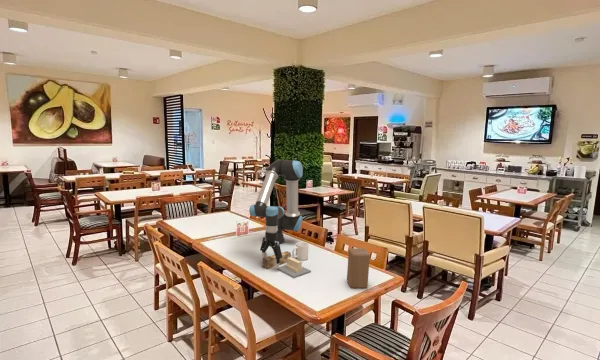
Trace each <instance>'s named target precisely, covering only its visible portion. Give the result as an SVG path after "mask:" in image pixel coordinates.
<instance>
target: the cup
mask: <svg viewBox="0 0 600 360" xmlns="http://www.w3.org/2000/svg"><path fill="white" fill-rule="evenodd" d="M291 256H292V258H294V259H296V260H299V261H301V262H303V261H307V260H308V258H309V243H308V242H305V241H299V242H296V244H295V246H294V247H293V249H292V253H291Z"/></svg>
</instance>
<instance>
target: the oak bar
mask: <svg viewBox="0 0 600 360" xmlns="http://www.w3.org/2000/svg"><path fill="white" fill-rule="evenodd" d="M281 253H282V258H280V263H279V266H281V265H282V266H283V265H284V264H285V265H286V264H287V258H289V257H292V253H291V252H290V251H287V250H286V251H284V252H282V251H281ZM277 257H278V256H277ZM275 258H276V256H275V254H272V255H269V256H268V255H267V257H265V258H263V263H262V268H263V269H265V270H269V269H271V268H275Z"/></svg>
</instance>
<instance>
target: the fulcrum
mask: <svg viewBox="0 0 600 360" xmlns="http://www.w3.org/2000/svg"><path fill="white" fill-rule="evenodd" d="M302 263H303V261H300V260H297V259H296V258H295V257H293V256H291V257H289V258H287V263H285V265H284V264H283V265H282V266H281V265H280V266H279V268H277V269H276V270H277V271H279V272H281V273H283V274H285V275H287V276H289V277H291V278H293V279H297V278H299V277H302V276H304V275H307V274H310V273H312V270H310V269H309V268H306V267H305V266H303V265H302Z"/></svg>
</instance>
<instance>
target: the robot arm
mask: <svg viewBox="0 0 600 360" xmlns="http://www.w3.org/2000/svg"><path fill="white" fill-rule="evenodd" d="M303 169H304V168H303V164H302V163H301V161H299V160H294V159H293V160H290V159H278V160H275V161H273V162H272V163H271V164H269V166H268V167H267V169H266V170H265V175H264V176H265V177H264V180H263V183H262V186H261V188H260V190H259V193H258V196H257V198H256V201H255V203H254V204H250V205H249V210H248V211H249V215H250V216H251V217H255V218H258V217H259V218H265V232H264V233H265V235H264V237H262V241H261V246H260V249H259V251H261V256H262V258H261V261H262V263H263V258H265V257H268V255H267V254H268V252H267V250H268V249H269V248H271V249H272V252H273V255H275V256H276V258H275V267H274V269H275V270H277V268H279V267H280V265H279V263H280V258H282V250H281V246H280V245H281V244H284V243H285V237H284V234H283V231H284V230H285V231H292V232H298V231H301V228H302V224H303V216H302V215H301V212H300V211H299V181H300V180H301V178H302V177H303V175H304V174H303V172H304V171H303ZM280 176H281V177H283V180H284V181H285V182H286V184H285V185H286V211H285V209H284V208H283V207H282V206H279V205H278V206H274V205H273V206H272V205H271V206H268V203H269V200H270V197H271V194H272V191H273V188H274V186H275V183H276V181H277V180H278V179H279V177H280ZM277 256H278V257H277Z"/></svg>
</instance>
